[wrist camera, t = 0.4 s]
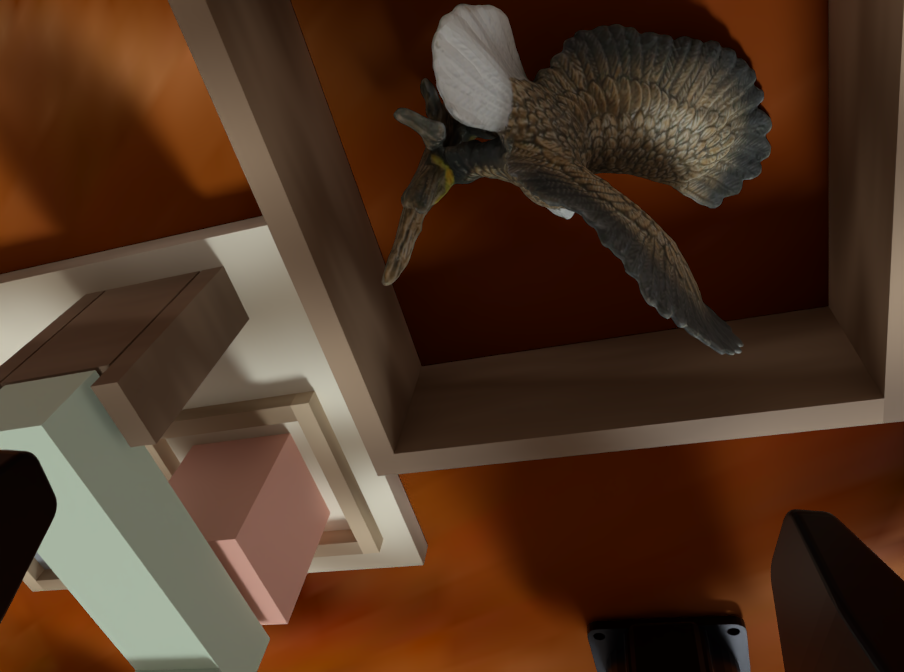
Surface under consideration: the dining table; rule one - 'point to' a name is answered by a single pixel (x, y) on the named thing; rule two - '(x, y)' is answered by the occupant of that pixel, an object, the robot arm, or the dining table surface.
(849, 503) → the dining table surface
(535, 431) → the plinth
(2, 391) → the bar
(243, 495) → the block
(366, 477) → the board
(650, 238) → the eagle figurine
